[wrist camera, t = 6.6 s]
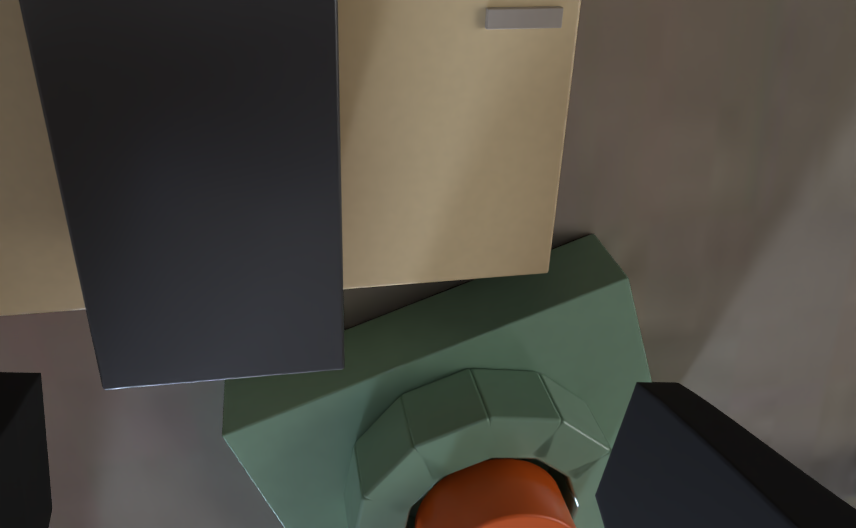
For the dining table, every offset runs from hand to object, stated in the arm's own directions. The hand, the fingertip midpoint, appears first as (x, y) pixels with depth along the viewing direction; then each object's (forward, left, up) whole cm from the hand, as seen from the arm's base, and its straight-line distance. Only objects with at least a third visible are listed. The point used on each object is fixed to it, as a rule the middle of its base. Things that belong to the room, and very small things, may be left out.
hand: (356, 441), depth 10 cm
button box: (+1, -9, -9) cm, 13 cm away
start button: (+1, -9, -5) cm, 10 cm away
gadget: (0, +4, -7) cm, 8 cm away
